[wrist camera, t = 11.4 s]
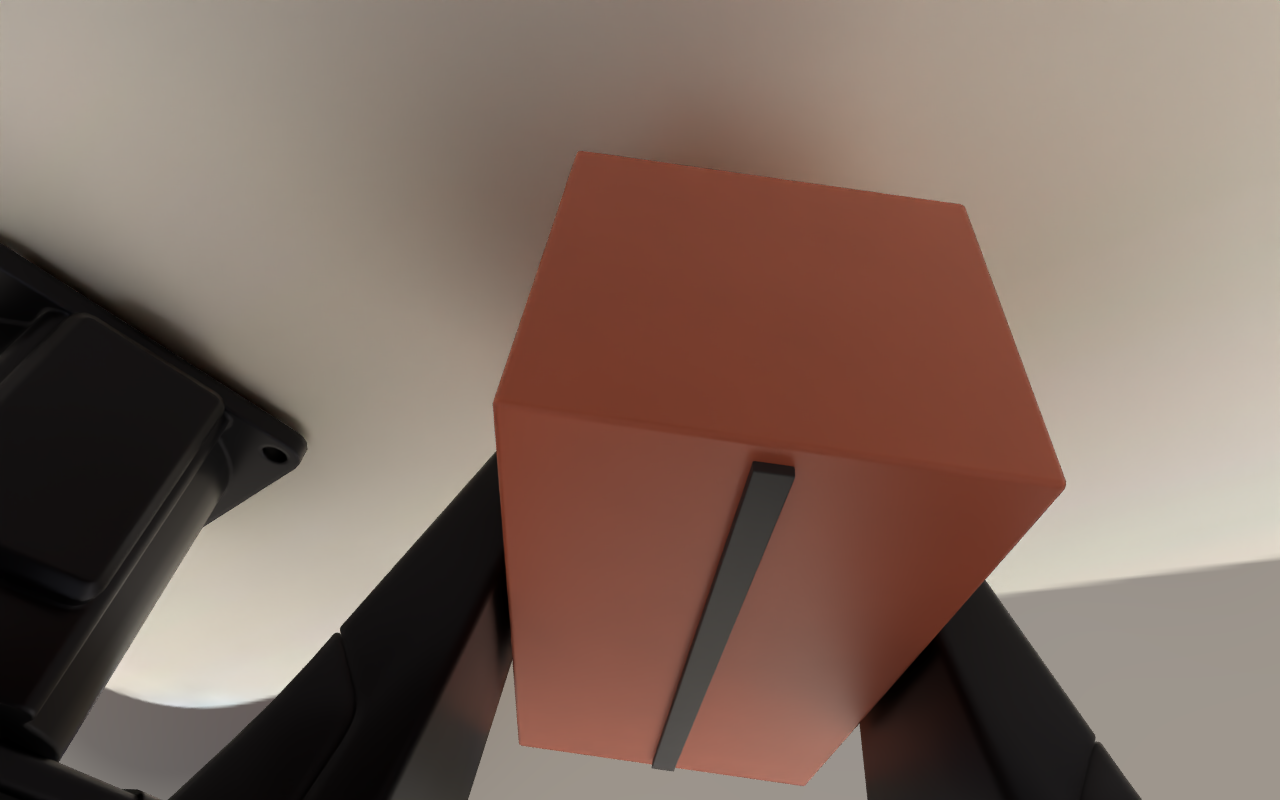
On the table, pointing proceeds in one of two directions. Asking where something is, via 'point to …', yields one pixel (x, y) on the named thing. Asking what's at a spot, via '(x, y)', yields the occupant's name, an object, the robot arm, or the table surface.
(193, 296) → the table surface
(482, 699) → the robot arm
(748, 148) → the table surface
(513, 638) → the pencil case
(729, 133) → the table surface
